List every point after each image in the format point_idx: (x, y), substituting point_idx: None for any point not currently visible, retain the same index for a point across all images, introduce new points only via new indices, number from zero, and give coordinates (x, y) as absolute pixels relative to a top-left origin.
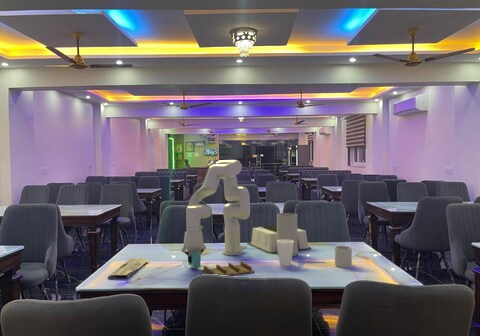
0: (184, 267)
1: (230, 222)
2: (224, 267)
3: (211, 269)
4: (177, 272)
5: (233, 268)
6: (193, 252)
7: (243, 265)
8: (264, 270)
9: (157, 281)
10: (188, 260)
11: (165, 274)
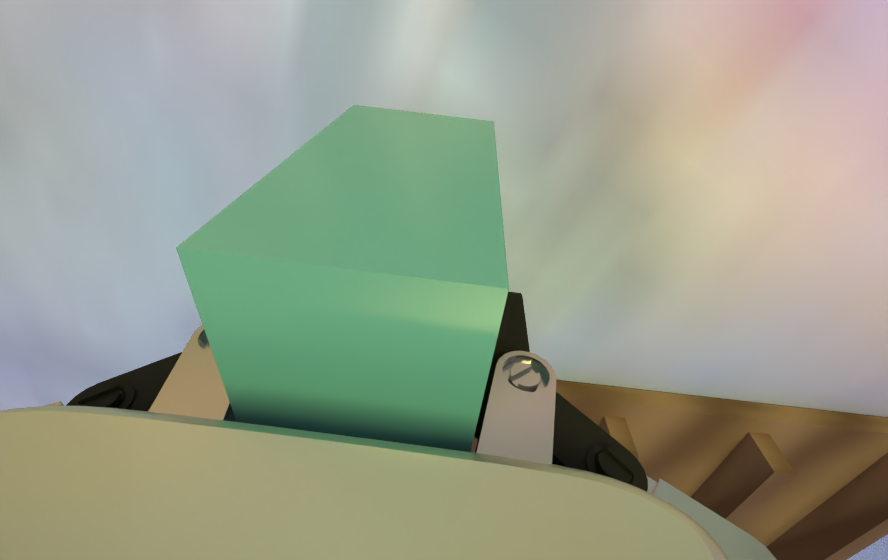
0: (296, 78)
1: None
2: (696, 429)
3: None
4: (178, 265)
5: None
6: None
7: (848, 509)
8: (881, 547)
9: (14, 396)
10: None
11: (35, 264)
